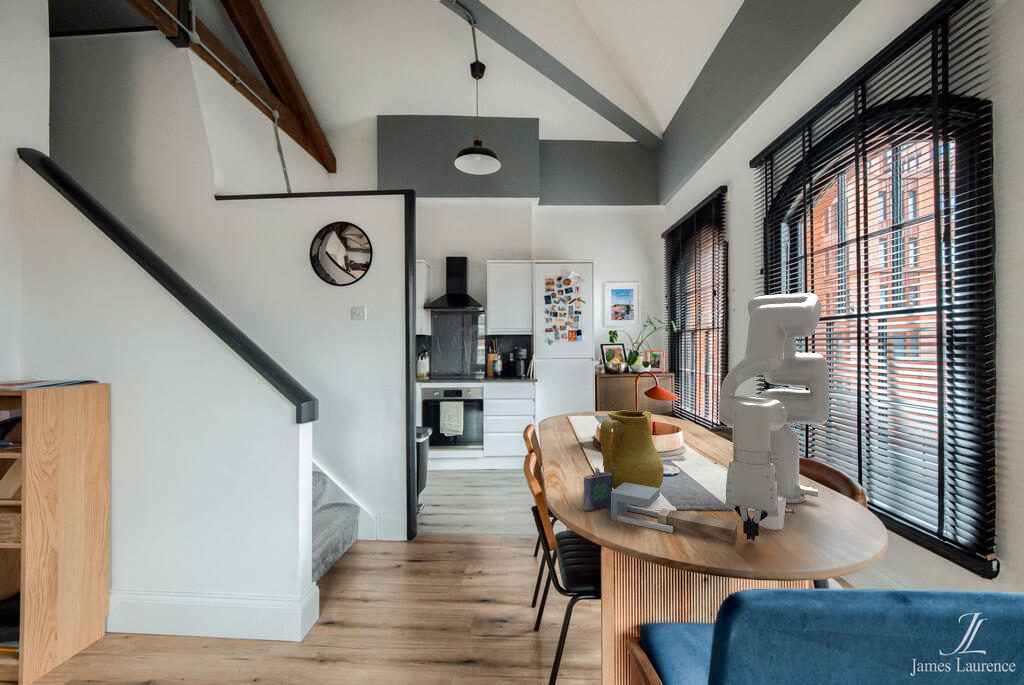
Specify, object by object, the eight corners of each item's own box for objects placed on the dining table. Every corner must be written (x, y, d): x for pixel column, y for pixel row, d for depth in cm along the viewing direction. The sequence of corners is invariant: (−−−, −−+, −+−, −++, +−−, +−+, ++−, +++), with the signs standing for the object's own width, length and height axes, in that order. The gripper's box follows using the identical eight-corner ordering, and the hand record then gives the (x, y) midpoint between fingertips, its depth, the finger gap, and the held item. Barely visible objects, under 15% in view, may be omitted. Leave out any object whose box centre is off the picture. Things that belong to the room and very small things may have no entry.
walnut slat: (737, 535, 105) (737, 522, 105) (734, 543, 100) (734, 530, 100) (662, 520, 114) (662, 508, 114) (657, 526, 110) (657, 514, 110)
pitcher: (674, 505, 123) (669, 413, 124) (606, 507, 124) (601, 416, 125) (655, 487, 140) (651, 407, 141) (596, 489, 141) (592, 409, 142)
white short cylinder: (789, 532, 106) (789, 503, 106) (756, 528, 109) (756, 499, 109) (782, 522, 113) (782, 494, 113) (752, 518, 115) (752, 491, 115)
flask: (587, 512, 119) (587, 471, 119) (580, 508, 121) (580, 469, 121) (614, 507, 123) (614, 467, 123) (607, 503, 125) (607, 465, 125)
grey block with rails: (681, 519, 114) (681, 492, 114) (671, 533, 105) (671, 503, 105) (624, 507, 122) (624, 482, 122) (610, 519, 114) (610, 492, 114)
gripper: (790, 457, 100) (790, 540, 100) (717, 448, 108) (717, 525, 108) (789, 465, 94) (789, 553, 93) (712, 455, 102) (712, 536, 102)
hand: (751, 537), depth 101 cm, fingers closed
